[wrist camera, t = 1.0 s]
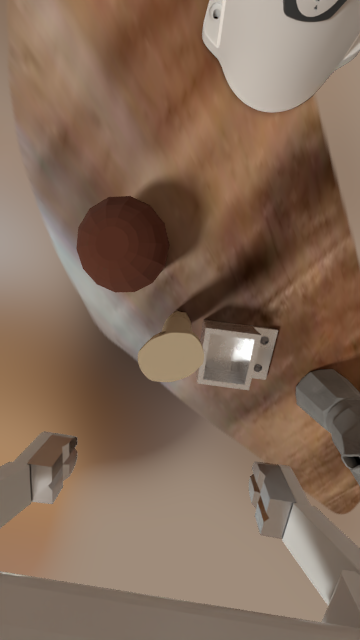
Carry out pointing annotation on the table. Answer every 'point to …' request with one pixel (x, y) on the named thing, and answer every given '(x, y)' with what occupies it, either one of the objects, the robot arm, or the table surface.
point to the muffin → (122, 244)
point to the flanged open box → (235, 354)
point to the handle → (172, 351)
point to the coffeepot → (334, 411)
